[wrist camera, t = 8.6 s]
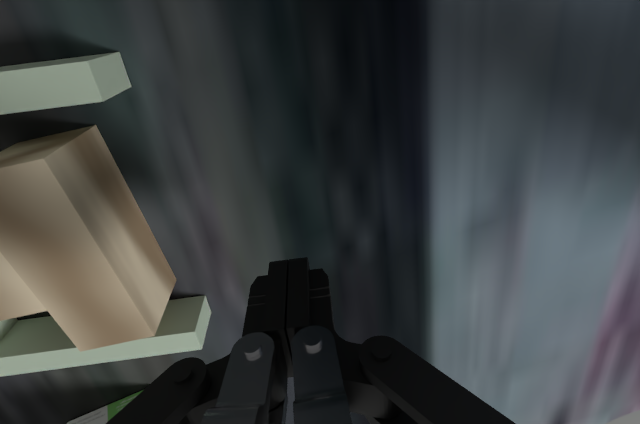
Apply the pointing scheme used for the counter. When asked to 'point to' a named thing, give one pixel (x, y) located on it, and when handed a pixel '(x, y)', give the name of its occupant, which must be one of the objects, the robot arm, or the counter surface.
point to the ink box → (104, 412)
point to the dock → (44, 333)
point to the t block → (78, 242)
